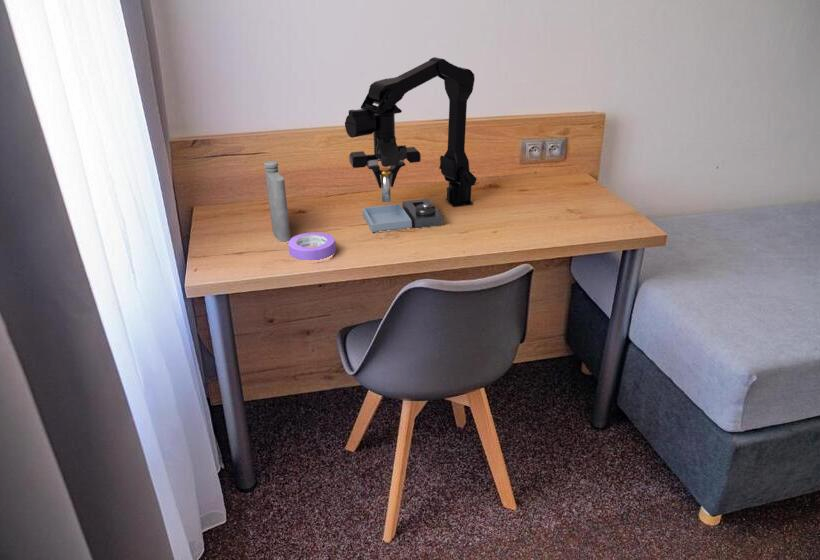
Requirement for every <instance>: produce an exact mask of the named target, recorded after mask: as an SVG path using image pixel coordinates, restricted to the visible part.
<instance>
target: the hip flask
mask: <svg viewBox="0 0 820 560" xmlns="http://www.w3.org/2000/svg"><path fill="white" fill-rule="evenodd" d="M263 165H264V166H263V167H264V171H265V179H266V181H265V182H266V188H267V195H268V196H267V197H268V206H269V213H270V220H271V230H272V234H273V233H274V234H273V236H274V235H275V236H274V238H275V237H276V238H277V239H278V240H279V241H280V242H287V241H289V240H290V239H291V238H292V237H291V231H290V230H291V229H290V222H289V221H290V220H289V210H288V204H287V203H288V202H287V193H286V192H287V191H286V185H285V184H286V183H285V178H284V177H283V176H282V175H281V174H280V173H279V162H278V161H276V160H270V161H265V162H264V163H263ZM276 238H275V239H276Z"/></svg>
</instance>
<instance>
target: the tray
mask: <svg viewBox="0 0 820 560" xmlns="http://www.w3.org/2000/svg"><path fill="white" fill-rule="evenodd" d="M363 216H364V217H363ZM362 217H363V218H365V219H364V220H366V221H365V223H366V222H367V223H368V224H367V223H366V224H367V226H368V225H369V226H368V228H369V227H370V228H369V229H371V230H370V232H371V231H372V232H379V231H387V230H396V231H398V230H397V229H405V230H408V229H407V228H412V227H413V225H412V220H411V219H410V217H409V216H408V215H407V213H406V212H405V210H404V209H403V205H401V204H400V203H398V204H396V203H394V204H386V205H378V206H377V205H375V206H368V207H362ZM372 232H371V233H372ZM379 233H380V232H379Z"/></svg>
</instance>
